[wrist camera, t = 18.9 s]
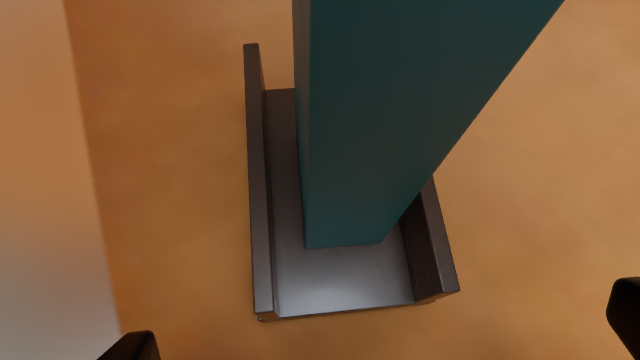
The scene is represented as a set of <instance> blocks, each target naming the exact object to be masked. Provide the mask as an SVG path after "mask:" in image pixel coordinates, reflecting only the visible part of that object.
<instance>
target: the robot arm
mask: <svg viewBox="0 0 640 360" xmlns="http://www.w3.org/2000/svg"><path fill="white" fill-rule="evenodd" d="M606 317H607V320H608V322H609V324H610V326H611V327H612V329H613V330H614V331H615V333H616V334H617V336H618V337H619V338H620V340H621V341H622V343H623V344H624V345H625V347H626V348H627V349H628V351H629V352H630V354H631V355H632V356H633V358H634V359H635V360H640V277H627V278H620V279H618V280H616V281H615V283H614V284H613V287H612V291H611V295H610V298H609V302H608V305H607V309H606ZM97 360H161V358H160V354H159V350H158V347H157V343H156V339H155V336H154V334H153V332H152V331H149V330H145V331H136V332H130V333H127V334H126V335H124V336H123V337H122V338H121V339H120V340H118V341H117V342H116V343H115V344H114V345H113V346H112V347H110V348H109V349H108V350H107V351H106V352H105V353H104V354H103V355H101V356H100V357H99V358H98V359H97Z"/></svg>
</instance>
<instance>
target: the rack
mask: <svg viewBox="0 0 640 360" xmlns="http://www.w3.org/2000/svg"><path fill="white" fill-rule="evenodd" d="M243 52H244V78H245V103H246V129H247V155H248V180H249V206H250V231H251V257H252V283H253V308H254V314H255V315H257V316H258V321H259V322H271V321H280V320H289V319H298V318H307V317H316V316H325V315H334V314H342V313H351V312H360V311H369V310H378V309H387V308H396V307H405V306H414V305H423V304H429V303H432V302H435V301H436V300H437V299H440V298H443V297H445V296H448V295H451V294H454V293H457V292H459V291H460V286H459V282H458V278H457V274H456V270H455V266H454V262H453V258H452V254H451V249H450V245H449V241H448V237H447V233H446V229H445V225H444V221H443V216H442V212H441V208H440V204H439V200H438V196H437V192H436V188H435V184H434V179H433V175H432V176H431V177H430V178H429V180H428V181H427V182H426V184H425V185H424V186H423V188H422V189H421V190H420V192H419V193H418V194H417V196H416V197H415V198H414V200H413V201H412V202H411V204H410V205H409V206H408V207H407V209H406V210H405V211H404V213H403V214H402V215H401V217H400V218H399V219H398V221H397V222H396V223H395V225H394V226H393V227H392V229H391V230H390V231H389V233H388V234H387V235H386V236H385V238H384V239H383V240H382V242H381V243H376V244H364V245H352V246H339V247H327V248H315V249H305V246H304V233H303V220H302V207H301V194H300V181H299V168H298V155H297V142H296V116H295V88H290V89H274V90H265V84H264V77H263V70H262V63H261V57H260V50H259V44H258V43H253V44H244V45H243Z"/></svg>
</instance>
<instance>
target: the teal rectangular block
mask: <svg viewBox="0 0 640 360" xmlns="http://www.w3.org/2000/svg"><path fill="white" fill-rule="evenodd" d="M564 1H565V0H292V19H293V51H294V84H295V116H296V142H297V155H298V168H299V181H300V194H301V207H302V220H303V233H304V246H305V249H315V248H327V247H339V246H352V245H364V244H376V243H381V242H382V240H383V239H384V238H385V236H386V235H387V234H388V233H389V231H390V230H391V229H392V227H393V226H394V225H395V223H396V222H397V221H398V219H399V218H400V217H401V215H402V214H403V213H404V211H405V210H406V209H407V207H408V206H409V205H410V204H411V202H412V201H413V200H414V198H415V197H416V196H417V194H418V193H419V192H420V190H421V189H422V188H423V186H424V185H425V184H426V182H427V181H428V180H429V178H430V177H431V176H432V175H433V173H434V172H435V171H436V169H437V168H438V167H439V165H440V164H441V163H442V161H443V160H444V159H445V157H446V156H447V155H448V153H449V152H450V151H451V149H452V148H453V147H454V146H455V144H456V143H457V142H458V140H459V139H460V138H461V136H462V135H463V134H464V132H465V131H466V130H467V128H468V127H469V126H470V124H471V123H472V122H473V120H474V119H475V118H476V117H477V115H478V114H479V113H480V111H481V110H482V109H483V107H484V106H485V105H486V103H487V102H488V101H489V99H490V98H491V97H492V95H493V94H494V93H495V91H496V90H497V89H498V88H499V86H500V85H501V84H502V82H503V81H504V80H505V78H506V77H507V76H508V74H509V73H510V72H511V70H512V69H513V68H514V66H515V65H516V64H517V62H518V61H519V60H520V59H521V57H522V56H523V55H524V53H525V52H526V51H527V49H528V48H529V47H530V45H531V44H532V43H533V41H534V40H535V39H536V37H537V36H538V35H539V34H540V32H541V31H542V30H543V28H544V27H545V26H546V24H547V23H548V22H549V20H550V19H551V18H552V16H553V15H554V14H555V12H556V11H557V10H558V8H559V7H560V6H561V5H562V3H563V2H564Z"/></svg>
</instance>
